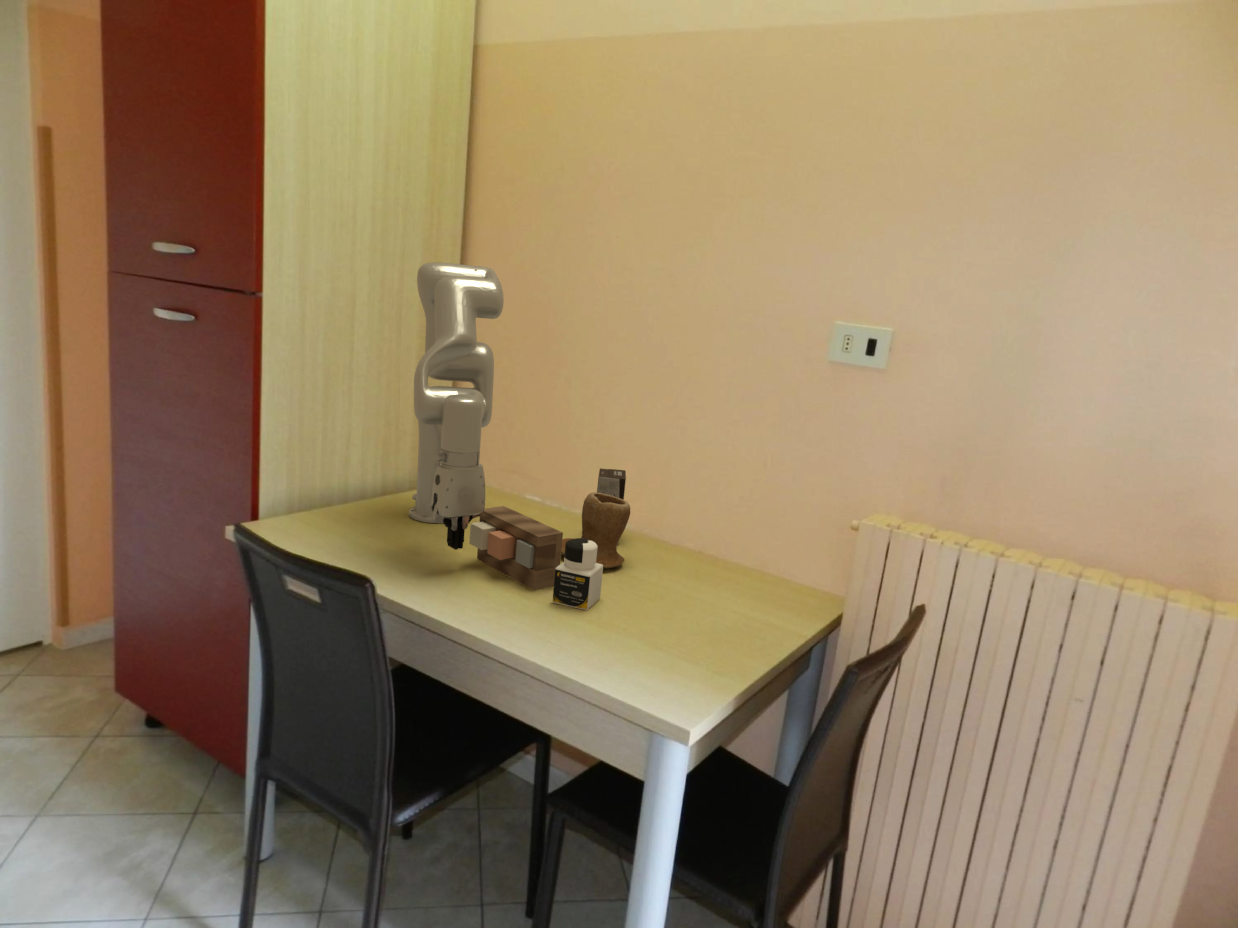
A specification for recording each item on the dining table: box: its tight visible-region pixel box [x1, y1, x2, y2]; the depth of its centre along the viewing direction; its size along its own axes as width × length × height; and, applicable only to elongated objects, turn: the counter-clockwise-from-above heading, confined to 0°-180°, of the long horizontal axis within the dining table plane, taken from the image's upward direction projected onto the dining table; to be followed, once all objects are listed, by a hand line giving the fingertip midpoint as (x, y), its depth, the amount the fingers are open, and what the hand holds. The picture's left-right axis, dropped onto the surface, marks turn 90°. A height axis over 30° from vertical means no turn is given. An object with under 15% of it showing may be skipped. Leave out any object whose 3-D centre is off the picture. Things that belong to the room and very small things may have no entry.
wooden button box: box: [476, 505, 564, 591], centre depth 173 cm, size 20×6×11 cm, turn 43°
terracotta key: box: [487, 530, 515, 560], centre depth 170 cm, size 4×4×4 cm
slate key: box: [515, 539, 535, 568], centre depth 167 cm, size 4×4×4 cm
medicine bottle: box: [552, 537, 604, 611], centre depth 161 cm, size 7×7×12 cm
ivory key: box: [468, 521, 496, 550], centre depth 175 cm, size 4×4×4 cm
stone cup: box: [561, 491, 631, 569], centre depth 184 cm, size 15×12×15 cm
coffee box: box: [596, 468, 627, 546], centre depth 200 cm, size 9×6×16 cm
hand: (455, 546), depth 171 cm, fingers closed
